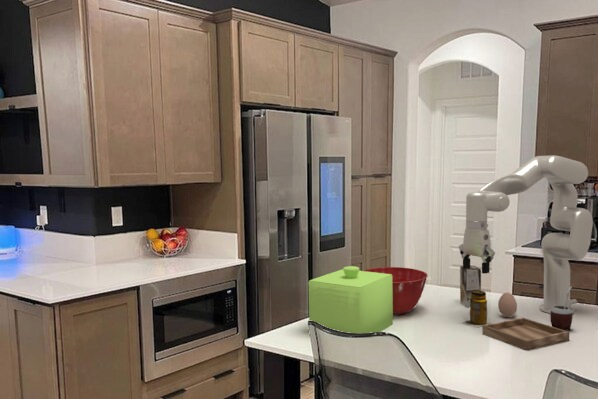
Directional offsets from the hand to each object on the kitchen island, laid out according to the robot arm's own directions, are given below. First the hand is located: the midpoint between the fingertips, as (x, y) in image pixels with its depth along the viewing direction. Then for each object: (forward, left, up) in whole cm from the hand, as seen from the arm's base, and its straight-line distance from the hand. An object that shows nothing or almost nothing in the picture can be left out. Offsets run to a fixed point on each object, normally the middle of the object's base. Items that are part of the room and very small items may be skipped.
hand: (475, 270), depth 193 cm
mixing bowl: (+17, -30, -20) cm, 40 cm away
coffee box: (-17, -21, -20) cm, 34 cm away
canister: (+44, -17, -20) cm, 51 cm away
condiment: (0, 0, -20) cm, 20 cm away
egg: (-16, 0, -20) cm, 26 cm away
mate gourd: (-21, +20, -20) cm, 36 cm away
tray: (-3, +20, -20) cm, 28 cm away
